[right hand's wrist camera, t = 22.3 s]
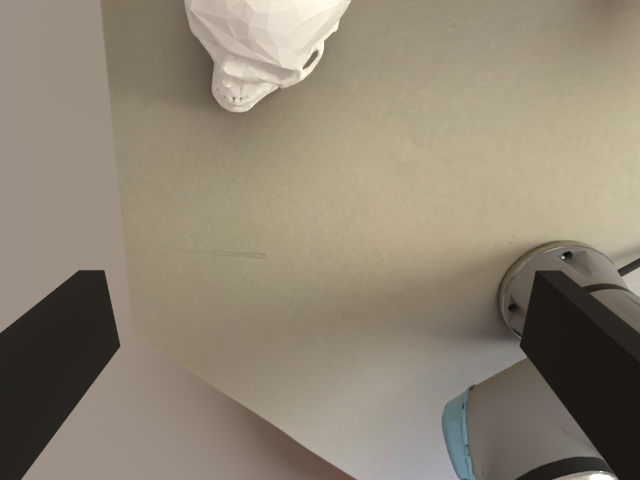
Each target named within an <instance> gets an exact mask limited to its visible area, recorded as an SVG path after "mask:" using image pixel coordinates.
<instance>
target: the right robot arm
mask: <svg viewBox="0 0 640 480" xmlns="http://www.w3.org/2000/svg"><path fill="white" fill-rule="evenodd" d="M639 267H640V258H639V259H637V260H635V261H634V262H632V263H630V264H628V265H626V266H624V267H623V268H621V269H619V270H617V269H616V268H615V266H614V265H613V263H612V262H611V261H610V260H609V259H608V258H607V257H606V256H605V255H603V254H602V253H600V252H599V251H597V250H596V249H594V248H592V247H590V246H588V245H586V244H583V243H580V242H574V241H558V242H552V243H548V244H545V245H542V246H539V247H537V248H535V249H533V250H531V251H529V252H528V253H526V254H525V255H523V256H522V257H521V258H520V259H519V260H517V261H516V262H515V263H514V264H513V266H512V267H511V268H510V269H509V270H508V272H507V273H506V275H505V277H504V279H503V281H502V283H501V286H500V289H499V294H498V305H499V310H500V313H501V316H502V318H503V319H504V321H505V322H506V324H507V325H508V326H509V328H510V329H511V330H512V331H513V333H514V334H515V335H516V336H518V337H519V338H520V339H521V342H520V347H521V349H522V350H523V351H524V353H525V354H526V355H527V358H525V359H524V360H522V361H520V362H518V363H516V364H514V365H512V366H511V367H509V368H507V369H505V370H503V371H501V372H500V373H498V374H496V375H494V376H492V377H490V378H489V379H487V380H485V381H483V382H481V383H479V384H477V385H472V386H470V387H469V388H468V389H467V390H466V391H465V392H464V393H462V394H460V395H459V396H457V397H456V398H454V399H452V400H451V401H449V402H448V403H447V404H446V406H445V408H444V412H443V414H442V429H443V435H444V439H445V443H446V447H447V450H448V453H449V456H450V459H451V462H452V465H453V467H454V470H455V472H456V475H457V476H458V478H459V479H460V480H618V479H619V480H640V297H638V296H637V295H635V294H634V293H632V292H631V291H629V289H628V288H627V286H626V284H625V283H624V281H623V279H622V278H621V277H622V276H624V275H626V274H628V273H629V272H631V271H633V270H635V269H637V268H639ZM512 331H511V332H512ZM119 347H120V342H119V337H118V333H117V328H116V323H115V319H114V314H113V309H112V304H111V300H110V295H109V290H108V286H107V281H106V276H105V272H104V270H79V271H78V272H76V273H75V274H74V275H73V276H71V277H70V278H69V279H68V280H66V281H65V282H64V283H63V284H61V285H60V286H59V287H58V288H56V289H55V290H54V291H53V292H51V293H50V294H49V295H48V296H46V297H45V298H44V299H43V300H41V301H40V302H39V303H38V304H36V305H35V306H34V307H33V308H31V309H30V310H29V311H28V312H26V313H25V314H24V315H23V316H21V317H20V318H19V319H17V320H16V321H15V322H14V323H12V324H11V325H10V326H9V327H7V328H6V329H5V330H4V331H2V332H1V333H0V480H21V479H22V478H23V476H24V475H25V474H26V472H27V471H28V469H29V468H30V467H31V465H32V464H33V463H34V461H35V460H36V459H37V457H38V456H39V455H40V453H41V452H42V451H43V449H44V448H45V447H46V445H47V444H48V442H49V441H50V440H51V439H52V437H53V436H54V435H55V433H56V432H57V431H58V429H59V428H60V427H61V425H62V424H63V422H64V421H65V420H66V418H67V417H68V416H69V414H70V413H71V412H72V410H73V409H74V408H75V406H76V405H77V404H78V402H79V401H80V400H81V398H82V397H83V396H84V394H85V393H86V392H87V390H88V389H89V387H90V386H91V385H92V383H93V382H94V381H95V380H96V378H97V377H98V375H99V374H100V373H101V371H102V370H103V369H104V367H105V366H106V365H107V363H108V362H109V361H110V359H111V358H112V357H113V355H114V354H115V353H116V351H117V350H118V349H119ZM608 465H609V466H608ZM610 468H611V469H612V470H611V469H610ZM613 472H614V473H613ZM615 475H616V476H617V477H616V476H615Z"/></svg>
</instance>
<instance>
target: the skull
mask: <svg viewBox="0 0 640 480" xmlns="http://www.w3.org/2000/svg"><path fill="white" fill-rule="evenodd" d="M350 1H351V0H184V2H185V10H186V13H187V17H188V21H189V25H190V29H191V31H192V33H193V35H194V36H196V37H197V38H198V39H199V40H200V42H201V43H202V45H203V46H204V47H205V49H206V50H207V51H208V53H209V54H210V56H211V58H212V59H213V61H214V71H213V76H212V79H213V80H212V93H213V96H214V97H215V99H216V100H217V101H218V103H219V104H220V105H221V107H223V108H225V109H227V110H228V111H230V112H245V111H248V110H249V109H251V108H252V107H253V106H254V105H255V104H256V103H257V102H258V101H260V100H261V99H262V98H263V97H265V96H266V95H268V94H269V93H271V92H273V91H274V90H276V89H277V88H279V87H280V88H281V89H282V88H287V87H289V86H291V85H294V84H296V83H298V82H300V81H301V80H303V79H304V78H305V77H306V76H307V75H308V74H309V73H311V72H312V71H313V69H314V68H315V66H316V65H317V63H318V62H319V60H320V58H321V56H322V54H323V51H324V41H325V40H326V39H327V38H328V37H329V36H330V35H331V34H332V33H333V32H336V30H337V29H338V24H339V20H340V18H341V16H342V15H343V13H344V12H345V10H346V8H347V7H348V5H349V3H350ZM317 50H318V57H317V58H316V59H315V60H314V61H313V63H312V64H311V65H310V66H309V67H307V68H306V69H303V68H302V67H303V66H304V65H305V64H306V62H307V61H308V60H309V58H310V57H311V55H312V53H313V52H315V51H317Z"/></svg>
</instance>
